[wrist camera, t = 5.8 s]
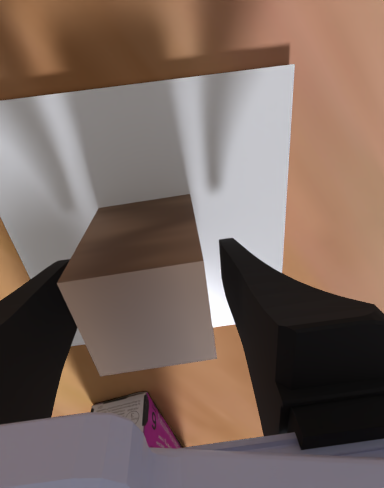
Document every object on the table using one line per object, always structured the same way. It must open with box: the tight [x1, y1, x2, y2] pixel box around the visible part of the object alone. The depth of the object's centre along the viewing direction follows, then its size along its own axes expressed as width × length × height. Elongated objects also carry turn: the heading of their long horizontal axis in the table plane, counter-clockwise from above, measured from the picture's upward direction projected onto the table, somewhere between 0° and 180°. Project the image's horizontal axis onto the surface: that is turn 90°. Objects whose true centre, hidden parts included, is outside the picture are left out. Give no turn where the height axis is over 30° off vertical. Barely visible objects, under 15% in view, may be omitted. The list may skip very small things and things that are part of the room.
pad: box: [0, 64, 295, 346], centre depth 15 cm, size 14×14×1 cm
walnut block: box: [57, 194, 217, 376], centre depth 12 cm, size 4×4×6 cm
